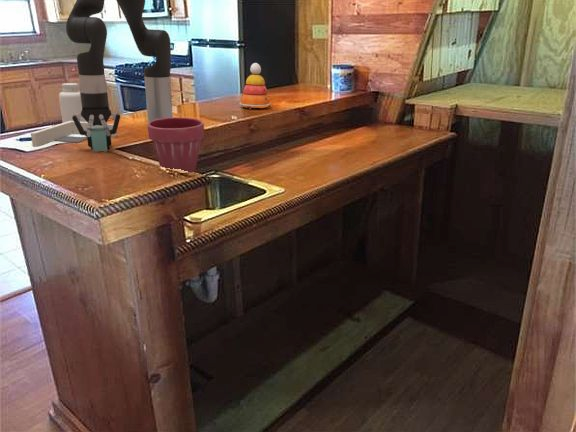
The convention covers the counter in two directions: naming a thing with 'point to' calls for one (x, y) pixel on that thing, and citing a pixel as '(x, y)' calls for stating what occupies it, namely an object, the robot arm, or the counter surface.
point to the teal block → (98, 139)
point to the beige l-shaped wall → (60, 132)
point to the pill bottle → (70, 102)
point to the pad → (71, 139)
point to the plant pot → (176, 141)
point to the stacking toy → (255, 89)
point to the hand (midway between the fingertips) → (100, 147)
